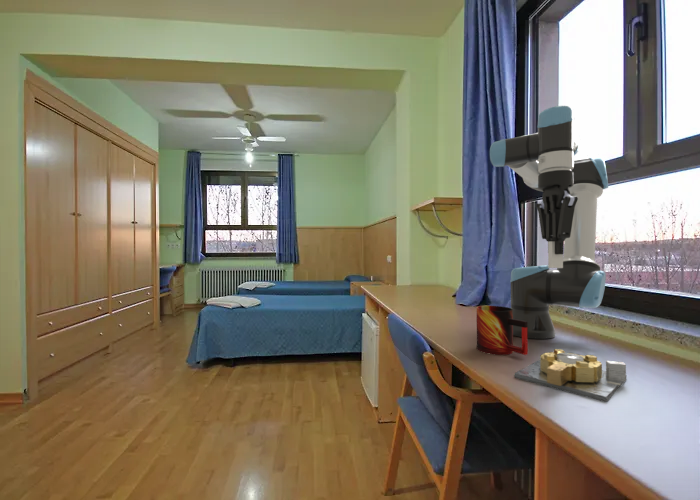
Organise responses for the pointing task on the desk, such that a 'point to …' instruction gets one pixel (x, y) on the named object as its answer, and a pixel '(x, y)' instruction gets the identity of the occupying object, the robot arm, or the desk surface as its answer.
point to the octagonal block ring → (570, 369)
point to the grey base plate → (595, 390)
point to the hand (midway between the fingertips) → (555, 267)
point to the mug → (499, 331)
